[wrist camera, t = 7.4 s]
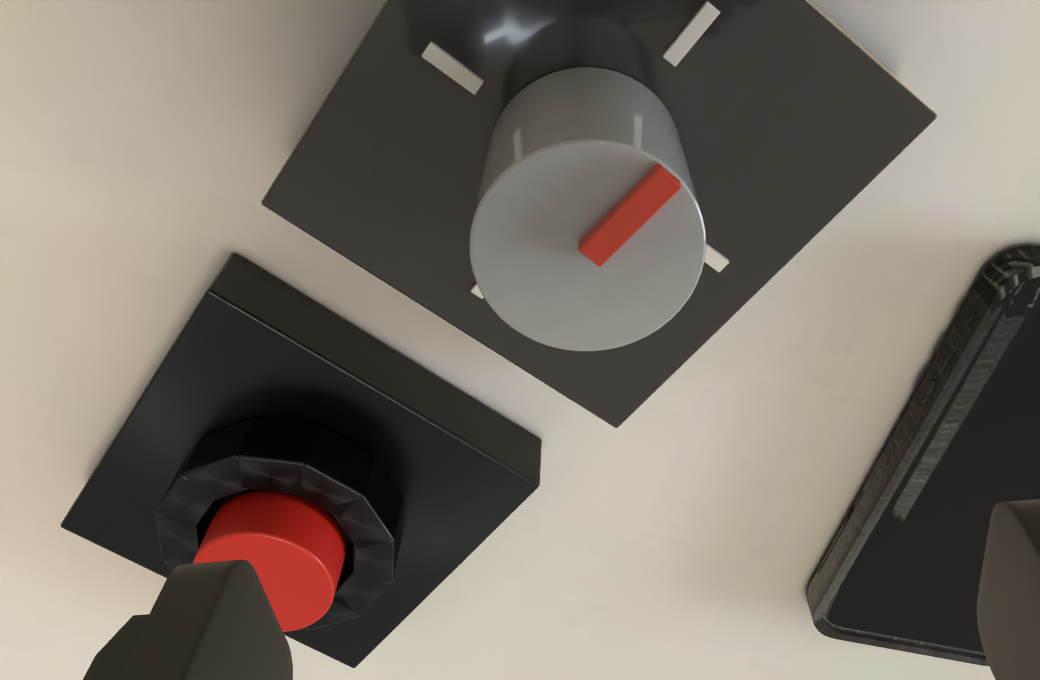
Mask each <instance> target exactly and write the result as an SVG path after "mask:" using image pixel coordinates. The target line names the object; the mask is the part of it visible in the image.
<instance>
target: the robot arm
mask: <svg viewBox="0 0 1040 680" xmlns="http://www.w3.org/2000/svg"><path fill="white" fill-rule="evenodd" d="M977 622H978V629H979V634H980V639H981V643H982V647H983V650H984V653H985V656H986V659H987V661H988V664H989V666H990V668H991V671H992V673H993V675H994V677H995V679H996V680H1040V499H1033V500H1020V501H1007V502H999V503H997V504H996V505H995V506H994V508H993V510H992V513H991V518H990V524H989V530H988V536H987V542H986V549H985V555H984V561H983V567H982V573H981V579H980V585H979V591H978V598H977ZM83 680H293V665H292V657H291V652H290V648H289V645H288V642H287V640H286V638H285V635H284V633H283V631H282V629H281V626H280V624H279V622H278V620H277V617H276V615H275V613H274V611H273V608H272V606H271V604H270V602H269V600H268V597H267V595H266V593H265V591H264V588H263V586H262V584H261V582H260V579H259V577H258V575H257V573H256V571H255V569H254V567H253V566H252V564H251V563H250V562H248V561H247V560H232V561H219V562H206V563H194V564H181V565H179V566H177V567H176V568H175V569H173V571H172V572H171V573H170V575H169V576H168V578H167V580H166V582H165V584H164V586H163V588H162V590H161V592H160V594H159V596H158V598H157V600H156V602H155V604H154V606H153V608H152V610H151V612H150V614H148V615H134V616H132V617H131V619H130V620H129V621H128V622H127V623H126V624H125V625H124V626H123V627H122V628H121V629H120V630H119V631H118V632H117V633H116V634H115V635H114V637H113V638H112V639H111V640H110V641H109V642H108V643H107V644H106V645H105V646H104V647H103V648H102V649H101V650H100V651H99V652H98V653H97V655H96V656H95V658H94V660H93V661H92V663H91V665H90V667H89V669H88V671H87V673H86V675H85V677H84V679H83Z"/></svg>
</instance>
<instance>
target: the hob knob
mask: <svg viewBox="0 0 1040 680" xmlns="http://www.w3.org/2000/svg"><path fill="white" fill-rule="evenodd" d="M469 250H470V261H471V266H472V271H473V274H474V277H475V280H476V283H477V285H478V287H479V289H480V291H481V293H482V295H483V297H484V298H485V300H486V301H487V302H488V304H489V305H490V307H491V308H492V309H493V310H494V311H495V312H496V314H497V315H498V316H499V317H500V318H501V319H502V320H503V321H505V322H506V323H507V324H508V325H509V326H511V327H512V328H513V329H515V330H516V331H518V332H519V333H521V334H523V335H524V336H526V337H528V338H530V339H532V340H534V341H536V342H539V343H542V344H545V345H548V346H551V347H555V348H560V349H564V350H573V351H599V350H607V349H612V348H617V347H621V346H624V345H627V344H630V343H633V342H635V341H638V340H640V339H642V338H644V337H646V336H648V335H650V334H651V333H653V332H655V331H656V330H658V329H659V328H661V327H662V326H663V325H665V324H666V323H667V322H668V321H670V320H671V319H672V318H673V317H674V316H675V315H676V314H677V313H678V312H679V311H680V310H681V308H682V307H683V306H684V304H685V303H686V302H687V300H688V299H689V298H690V296H691V294H692V292H693V291H694V289H695V287H696V285H697V283H698V280H699V278H700V275H701V273H702V269H703V265H704V261H705V253H706V231H705V226H704V221H703V216H702V213H701V210H700V206H699V203H698V199H697V196H696V192H695V189H694V186H693V182H692V179H691V175H690V172H689V168H688V165H687V161H686V158H685V155H684V151H683V148H682V144H681V141H680V137H679V134H678V131H677V128H676V126H675V123H674V121H673V119H672V117H671V115H670V113H669V111H668V110H667V109H666V107H665V106H664V104H663V103H662V102H661V100H660V99H659V98H658V97H657V96H656V95H655V94H654V93H653V92H652V91H650V90H649V89H648V88H647V87H645V86H644V85H643V84H641V83H640V82H638V81H636V80H634V79H633V78H631V77H629V76H626V75H624V74H621V73H619V72H615V71H612V70H608V69H602V68H594V67H578V68H571V69H565V70H561V71H557V72H554V73H551V74H549V75H546V76H544V77H542V78H539V79H538V80H536V81H534V82H533V83H531V84H529V85H528V86H527V87H525V88H524V89H523V90H521V91H520V92H519V93H518V94H517V95H516V96H515V97H514V98H513V99H512V100H511V101H510V102H509V103H508V105H507V106H506V107H505V109H504V110H503V111H502V113H501V115H500V116H499V118H498V120H497V122H496V124H495V126H494V129H493V132H492V134H491V138H490V142H489V147H488V151H487V156H486V161H485V165H484V170H483V175H482V179H481V184H480V189H479V193H478V198H477V203H476V207H475V212H474V217H473V221H472V226H471V231H470V242H469Z"/></svg>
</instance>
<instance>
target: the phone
mask: <svg viewBox="0 0 1040 680" xmlns="http://www.w3.org/2000/svg"><path fill="white" fill-rule="evenodd" d="M1033 499H1040V246H1024V247H1019V248H1014V249H1012V250H1010V251H1008V252H1006V253H1004V254H1001V255H1000V256H999V257H997V258H996V259H995V260H993V261H992V262H991V263H990V264H989V265H988V266H987V267H986V269H985V270H984V271H983V273H982V274H981V275H980V277H979V279H978V281H977V283H976V284H975V286H974V288H973V290H972V292H971V293H970V295H969V297H968V299H967V301H966V303H965V304H964V306H963V308H962V310H961V312H960V313H959V315H958V317H957V319H956V321H955V322H954V324H953V326H952V328H951V330H950V331H949V333H948V335H947V337H946V339H945V340H944V342H943V344H942V346H941V348H940V349H939V351H938V353H937V355H936V357H935V358H934V360H933V362H932V364H931V366H930V367H929V369H928V371H927V373H926V375H925V377H924V378H923V380H922V382H921V384H920V386H919V387H918V389H917V391H916V393H915V395H914V396H913V398H912V400H911V402H910V404H909V405H908V407H907V409H906V411H905V413H904V414H903V416H902V418H901V420H900V422H899V423H898V425H897V427H896V429H895V431H894V433H893V434H892V436H891V438H890V440H889V442H888V443H887V445H886V447H885V449H884V451H883V452H882V454H881V456H880V458H879V460H878V461H877V463H876V465H875V467H874V469H873V471H872V472H871V474H870V476H869V478H868V480H867V481H866V483H865V485H864V487H863V489H862V490H861V492H860V494H859V496H858V498H857V499H856V501H855V503H854V505H853V507H852V508H851V510H850V512H849V514H848V516H847V518H846V519H845V521H844V523H843V525H842V527H841V528H840V530H839V532H838V534H837V536H836V537H835V539H834V541H833V543H832V545H831V546H830V548H829V550H828V552H827V554H826V555H825V557H824V559H823V561H822V563H821V565H820V566H819V568H818V570H817V572H816V574H815V575H814V577H813V579H812V581H811V583H810V584H809V586H808V590H807V593H806V595H807V601H808V604H809V608H810V611H811V615H812V619H813V622H814V625H815V627H816V628H817V630H818V631H819V632H821V633H822V634H824V635H825V636H828V637H831V638H834V639H839V640H844V641H850V642H856V643H861V644H867V645H872V646H878V647H883V648H889V649H894V650H900V651H905V652H911V653H916V654H922V655H928V656H933V657H939V658H944V659H950V660H955V661H961V662H966V663H972V664H977V665H983V666H989V664H988V661H987V659H986V656H985V653H984V650H983V647H982V643H981V639H980V634H979V629H978V622H977V598H978V591H979V585H980V579H981V573H982V567H983V561H984V555H985V549H986V542H987V536H988V530H989V524H990V518H991V513H992V510H993V508H994V506H995V505H996V504H997V503H999V502H1007V501H1020V500H1033Z"/></svg>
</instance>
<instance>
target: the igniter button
mask: <svg viewBox="0 0 1040 680" xmlns="http://www.w3.org/2000/svg"><path fill="white" fill-rule="evenodd" d="M345 555H346V544H345V540H344V536H343V534H342V532H341V529H340V528H339V526H338V525H337V523H336V522H335V521H334V519H333V518H332V517H331V516H330V515H329V514H328V513H327V512H326V511H324V510H323V509H321V508H319V507H317V506H316V505H314V504H312V503H310V502H308V501H306V500H304V499H302V498H301V497H299V496H296V495H293V494H289V493H280V492H271V491H255V492H249V493H245V494H242V495H239V496H237V497H234V498H233V499H231V500H229V501H228V502H226V503H225V504H224V505H223V506H221V508H220V509H219V510H218V511H217V512H216V514H215V516H214V517H213V520H212V522H211V524H210V526H209V528H208V530H207V532H206V534H205V536H204V539H203V541H202V543H201V545H200V547H199V549H198V551H197V553H196V556H195V558H194V561H193V564H194V563H206V562H219V561H232V560H247V561H248V562H250V563H251V564H252V566H253V567H254V569H255V571H256V573H257V575H258V577H259V579H260V582H261V584H262V586H263V588H264V591H265V593H266V595H267V597H268V600H269V602H270V604H271V606H272V608H273V611H274V613H275V615H276V617H277V620H278V622H279V624H280V626H281V629H282V631H283V632H287V631H294V630H298V629H301V628H304V627H307V626H309V625H311V624H313V623H315V622H316V621H318V620H319V619H320V618H321V617H322V616H324V615H325V613H326V612H327V611H328V610H329V608H330V606H331V604H332V602H333V598H334V595H335V591H336V588H337V584H338V581H339V577H340V574H341V570H342V566H343V563H344V559H345Z"/></svg>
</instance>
